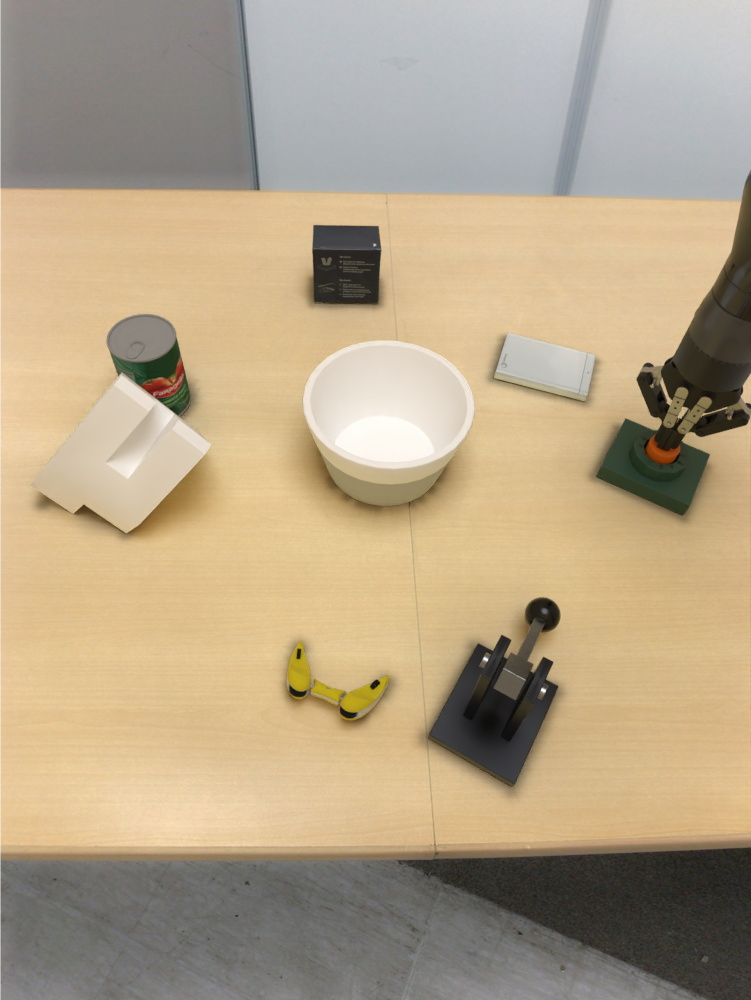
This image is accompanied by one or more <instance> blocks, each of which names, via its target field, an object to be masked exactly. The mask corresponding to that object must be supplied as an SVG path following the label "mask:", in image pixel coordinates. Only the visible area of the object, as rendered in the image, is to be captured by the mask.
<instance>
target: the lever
mask: <svg viewBox="0 0 751 1000" xmlns="http://www.w3.org/2000/svg"><path fill="white" fill-rule="evenodd" d="M561 616H562V614H561V609H560V607H559V605H558V604H557V603H556V602H555V601H554V600H553V599H551V598H549V597H545V596H538V597H535V598H533V599H531V600H530V601H528V603H527V604H526V606H525V608H524V619H525V623H526V624H527V626H528V627H529V629H528V630H527V633H526V635H525V637H524V639H523V641H522V643H521V645H520V647H519V648H518V651H517V653H516V654H515V653H514V652H510V653H509V655H508V657H507V661H506V663H505V665H504V667H503V669H502V671H501V673H500V675H499V677H498V679H497V681H496V683H495V685H494V687H493V688H494V689H496V690H498V691H499V692H501V693H503V694H505V695H507V696H508V697H510V698H512V699H514V700H516V699H517V698H518V696H519V694H520V692H521V690H522V688H523V686H524V684H525V682H526V680H527V678H528V676H529V673H530V671H531V672H532V668H533V667H534V663H532V662H531V661H529V660H530V658H531V655H532V652H533V650H534V649H535V646H536V644H537V642H538V640H539V637H540V635H541V634H546V633H550V632H552V631H554V630H555V629H556V628H557V627H558V625H559V624H560V621H561Z"/></svg>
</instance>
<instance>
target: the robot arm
mask: <svg viewBox="0 0 751 1000" xmlns="http://www.w3.org/2000/svg"><path fill="white" fill-rule="evenodd" d="M739 207H740V208H739V212H738V217H737V222H736V227H735V231H734V236H733V241H732V246H731V251H730V252H729V255H728V257H727V258H726V260H725V263H724V264H723V266H722V268H721V270H720V272H719V274H718V276H717V278H716V280H715V281H714V283H713V285H712V287H711V288H710V290H709V291H708V293H706V295H705V297H703V299H702V301H701V303H700V304H699V306H698V308H697V309H696V310H695V312H694V316H693V318H692V319H691V321H690V324H689V326H688V327H687V329H686V331H685V332H684V335H683V336H682V338H681V341H680V343H679V344H678V346H677V349H676V350H675V353H674V354H673V355H672V356H671V357H669V358H667V359H666V360H665V362H664V363H663V365H656V366H654V364H653V363H651V362H645V363H643V365H642V367H641V369H640V370H639V372H638V374H637V377H636V378H635V379H636V383H637V386H638V388H639V390H640V393H641V396H642V398H643V400H644V402H645V405H646V407H647V411H648V413H649V414H650V416H651V417H652V418H655V419H659V420H660V421H661V424H660V425H659V427H658V429H657V430H658V431H657V433H656V435H655V437H654V441H656V442H658V444H657V446H656V447H659V448H661V449H662V448H663V450H666V451H669V450H670V448H672V449H676V448H678V446H679V445H680V443H681V441H682V442H683V440H684V438H685V437H686V435H687V434H689V433H694V434H695V436H696V437H699V438H705V437H708V436H712V435H715V434H719V433H723V432H727V431H730V430H734V429H738V428H741V427H745V426H747V425H748V424H749V421H750V420H751V403H750V402H745V401H744V399H743V397H742V395H743V393H744V385H745V383H747V380H748V378H749V377H750V376H751V169H749V172H748V174H747V176H746V179H745V182H744V187H743V189H742V195H741V200H740V206H739ZM661 382H663V385H664V387H665V390H666V393H667V396H668V398H669V400H671V403H670V404H669V403H668V399H667V396H666V394H665V391H664V388H663V386H662V383H661ZM683 408H686V411H685V412H684V413H683V415H682V416H681V418H680V417H679V415H680V414H681V411H682V409H683Z"/></svg>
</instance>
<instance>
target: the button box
mask: <svg viewBox="0 0 751 1000" xmlns="http://www.w3.org/2000/svg"><path fill="white" fill-rule="evenodd" d="M657 431H658V429H652V428H650V427H647V426H645V425H643V424H640V423H638V422H636V421H633V420H631V419H629V418H627V417H625V418H624V420H623V422H622V424H621V426H620V427H619V429H618V432H617V434H616V436H615V438H614V440H613V442H612V444H611V446H610V448H609V449H608V451H607V454H606V456H605V457H604V460H603V461H602V463H601V465H600V467H599V469H598V471H597V474H596V475H595V476H596V478H598V479H601V480H603V481H606V482H607V483H610V484H612V485H614V486H616V487H619V488H620V489H623V490H625V491H627V492H628V493H631V494H634V495H635V496H638V497H640V498H642V499H645V500H647V501H649V502H651V503H653V504H656V505H658V506H660V507H662V508H665V509H667V510H669V511H671V512H673V513H675V514H678V515H680V516H684V515H685V513H686V512H687V511H688V509H689V508H690V506H691V505H692V501H693V499H694V496H695V495H696V491H697V489H698V486H699V484H700V481H701V479H702V476H703V473H704V472H705V469H706V466H707V464H708V462H709V459H710V456H711V453H708V452H706V451H704V450H702V449H699V448H697V447H694V446H692V445H690V444H687V443H686V442H683V440H682V441H681V443H680V452H679V454H678V455H677V457H676V459H675V460H674V462H673V463H671V464H670V465H667V464H659V463H657V462H654V461H652V460H651V459H650V458H649V457H648V456H647V455H646V453H645V448H646V446H647V444H648V443H649V441H650V439H651V437H652V436H654V435H656V433H657Z"/></svg>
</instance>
